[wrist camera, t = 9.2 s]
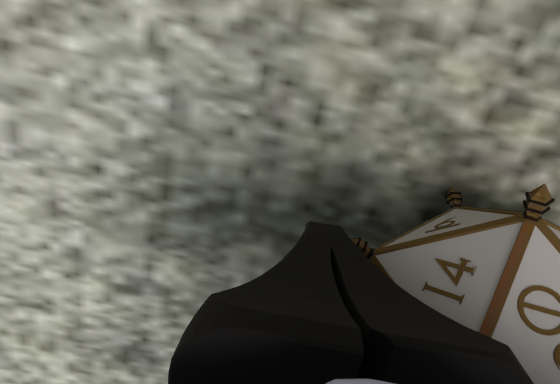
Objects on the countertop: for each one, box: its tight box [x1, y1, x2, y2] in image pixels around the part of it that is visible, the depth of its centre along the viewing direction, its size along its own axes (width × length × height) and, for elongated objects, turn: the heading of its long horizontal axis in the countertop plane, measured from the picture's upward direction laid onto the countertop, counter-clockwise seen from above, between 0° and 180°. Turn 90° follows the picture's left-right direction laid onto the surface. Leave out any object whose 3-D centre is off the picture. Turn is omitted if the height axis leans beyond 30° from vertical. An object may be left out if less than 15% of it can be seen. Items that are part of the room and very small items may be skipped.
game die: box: [351, 184, 560, 384], centre depth 11 cm, size 9×8×10 cm
